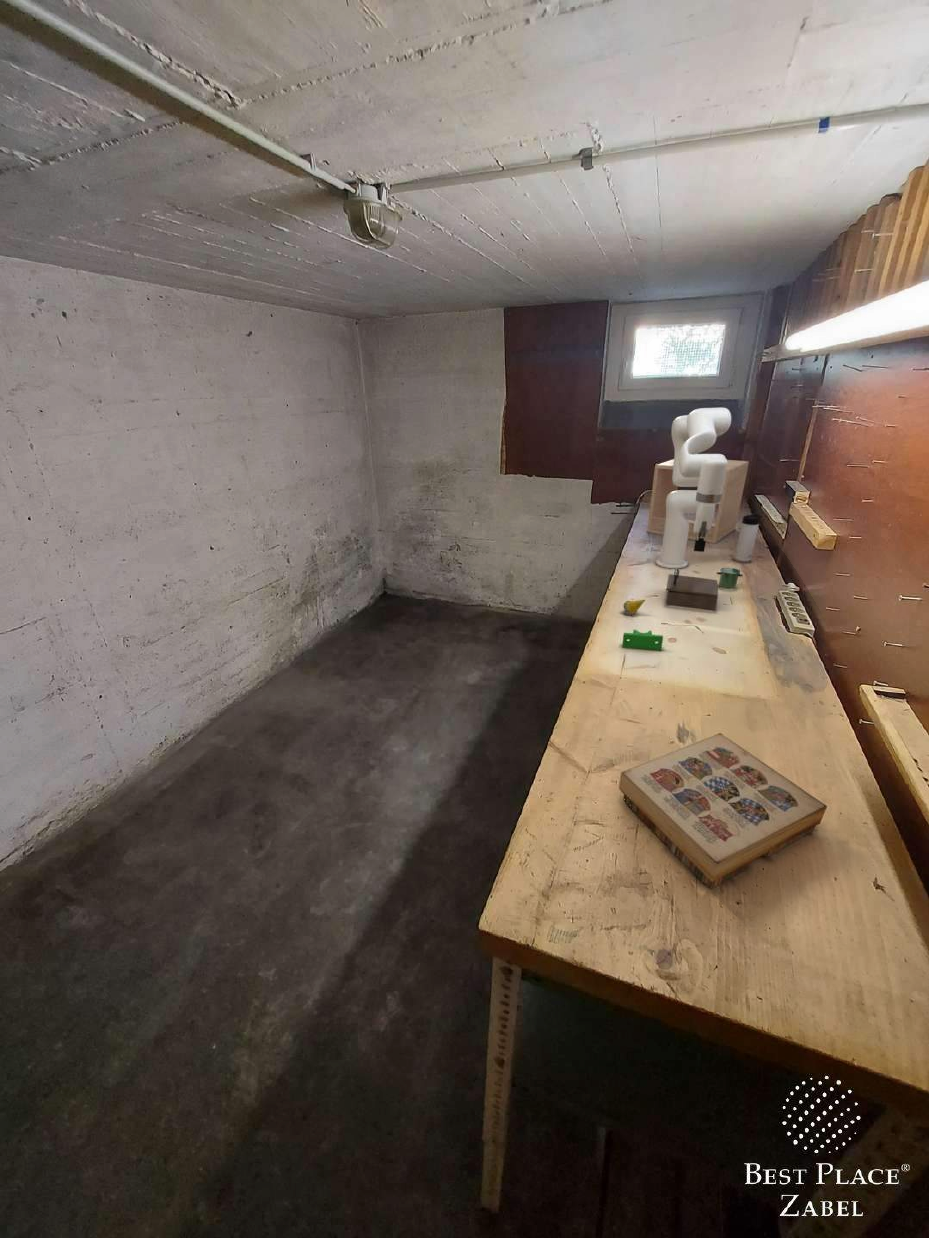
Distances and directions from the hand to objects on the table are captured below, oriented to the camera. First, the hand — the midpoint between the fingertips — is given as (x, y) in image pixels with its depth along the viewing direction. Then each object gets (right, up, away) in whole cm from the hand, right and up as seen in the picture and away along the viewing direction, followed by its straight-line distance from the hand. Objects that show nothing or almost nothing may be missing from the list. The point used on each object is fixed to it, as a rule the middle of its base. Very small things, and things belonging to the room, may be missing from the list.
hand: (698, 550), depth 167 cm
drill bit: (-23, -22, +1) cm, 32 cm away
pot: (+19, -12, +18) cm, 29 cm away
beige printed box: (-34, -60, -75) cm, 102 cm away
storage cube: (+38, +23, +87) cm, 97 cm away
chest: (+1, -17, +8) cm, 19 cm away
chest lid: (0, -12, +5) cm, 13 cm away
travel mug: (+40, +2, +43) cm, 59 cm away
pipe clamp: (-27, -32, -19) cm, 46 cm away
